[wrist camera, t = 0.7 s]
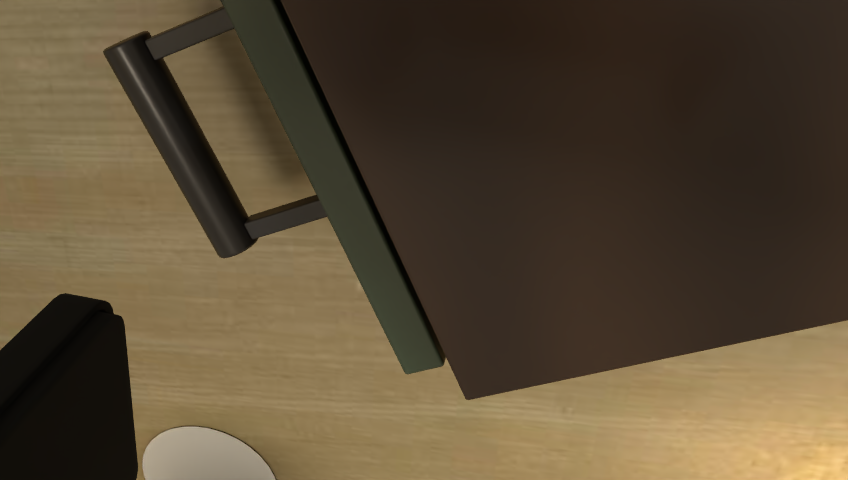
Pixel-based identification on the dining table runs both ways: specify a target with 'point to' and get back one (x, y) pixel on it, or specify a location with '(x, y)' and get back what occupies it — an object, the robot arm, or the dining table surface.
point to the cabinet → (597, 170)
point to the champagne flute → (202, 457)
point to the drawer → (313, 143)
